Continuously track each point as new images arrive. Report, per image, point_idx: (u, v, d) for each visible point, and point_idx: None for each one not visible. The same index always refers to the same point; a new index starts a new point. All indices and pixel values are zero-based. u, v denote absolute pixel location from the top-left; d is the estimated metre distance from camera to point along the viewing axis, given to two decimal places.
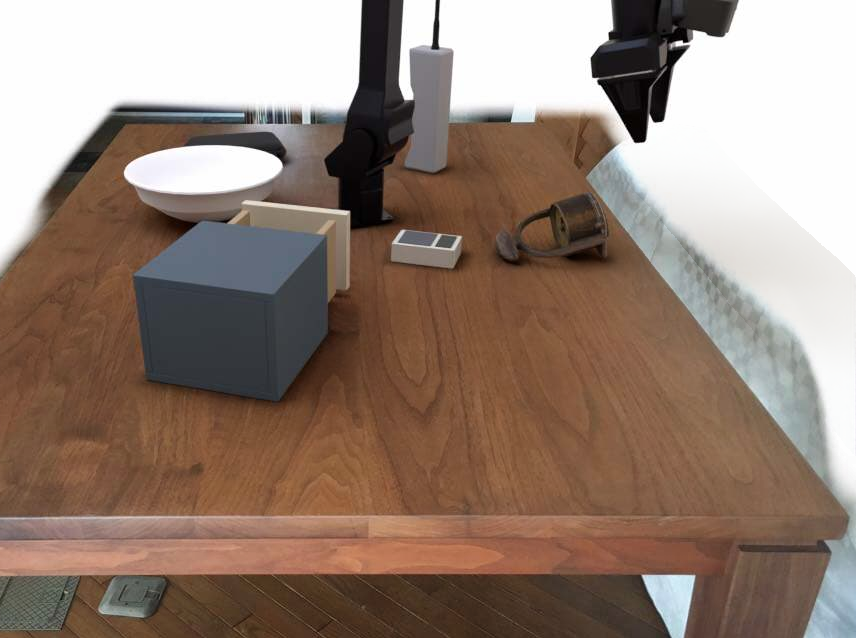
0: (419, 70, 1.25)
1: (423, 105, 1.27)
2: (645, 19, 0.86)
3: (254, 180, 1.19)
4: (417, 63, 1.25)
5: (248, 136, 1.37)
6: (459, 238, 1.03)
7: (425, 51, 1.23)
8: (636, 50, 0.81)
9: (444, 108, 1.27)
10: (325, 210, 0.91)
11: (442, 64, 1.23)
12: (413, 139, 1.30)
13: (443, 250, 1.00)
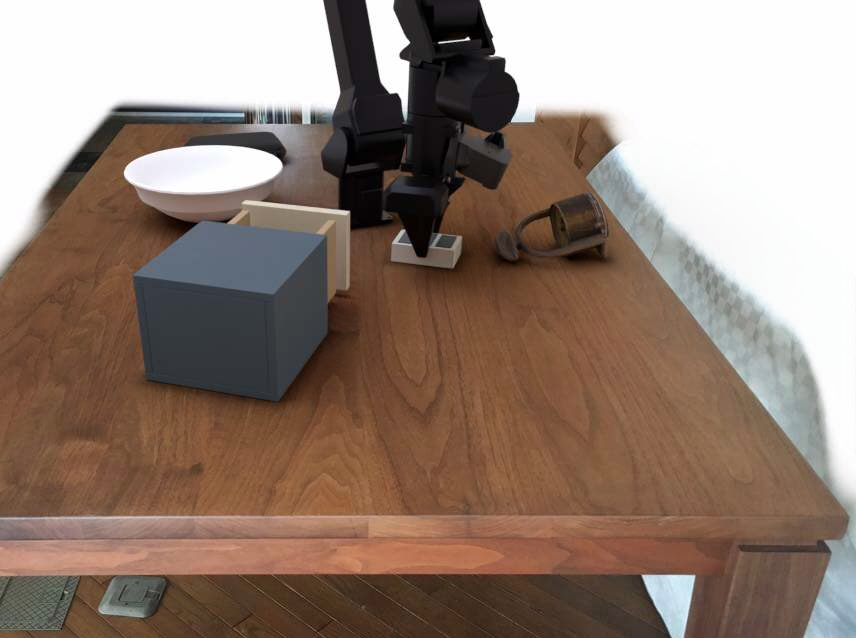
0: None
1: None
2: (433, 160, 0.95)
3: (254, 180, 1.19)
4: None
5: (248, 136, 1.37)
6: (459, 238, 1.03)
7: None
8: (422, 197, 0.91)
9: None
10: (325, 210, 0.91)
11: None
12: None
13: (443, 250, 1.00)
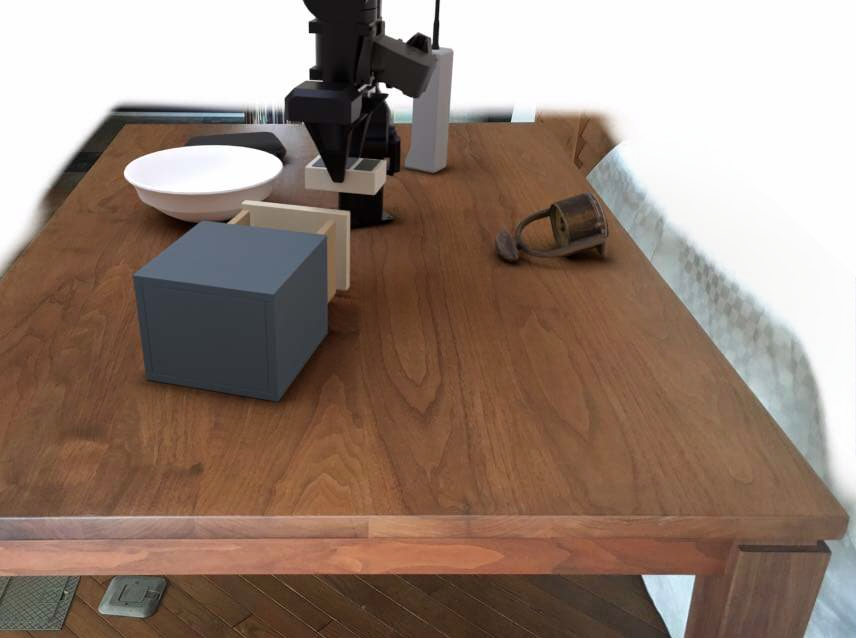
0: None
1: (423, 105, 1.27)
2: (345, 64, 0.82)
3: (254, 180, 1.19)
4: None
5: (248, 136, 1.37)
6: (383, 162, 0.90)
7: None
8: (329, 101, 0.78)
9: (444, 108, 1.27)
10: (325, 210, 0.91)
11: (442, 64, 1.23)
12: (413, 139, 1.30)
13: (363, 173, 0.88)
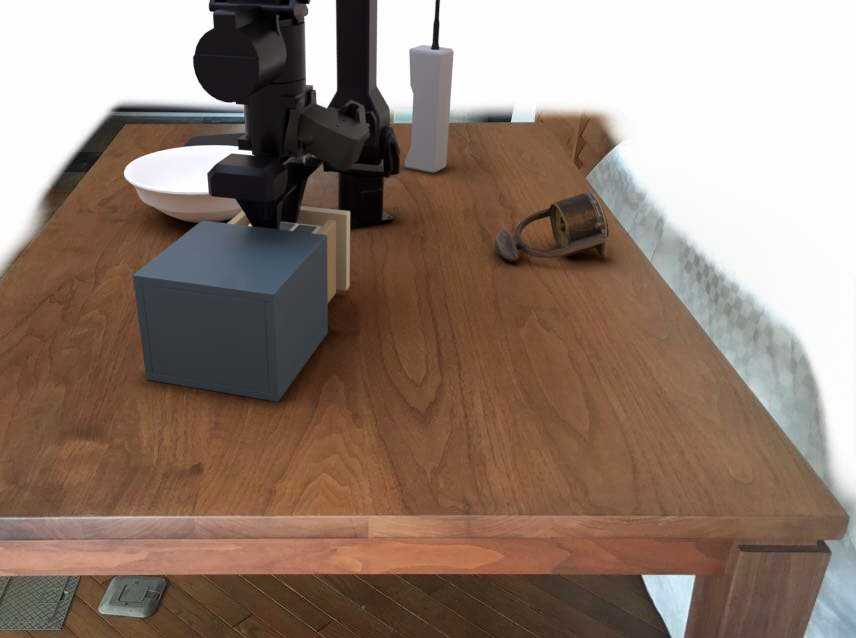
0: (419, 70, 1.25)
1: (423, 105, 1.27)
2: (273, 135, 0.81)
3: None
4: (417, 63, 1.25)
5: None
6: (318, 228, 0.89)
7: (425, 51, 1.23)
8: (250, 179, 0.76)
9: (444, 108, 1.27)
10: (325, 210, 0.91)
11: (442, 64, 1.23)
12: (413, 139, 1.30)
13: None
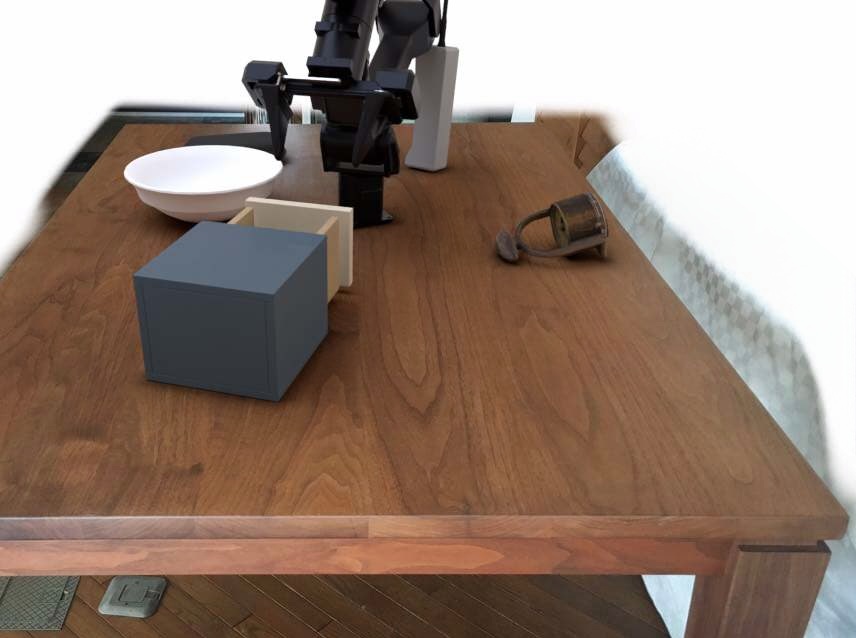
0: (424, 66, 1.26)
1: (427, 101, 1.27)
2: (363, 72, 0.97)
3: (254, 180, 1.19)
4: (422, 60, 1.26)
5: (248, 136, 1.37)
6: None
7: (431, 47, 1.24)
8: (420, 95, 0.95)
9: (447, 106, 1.28)
10: (328, 207, 0.91)
11: (448, 61, 1.24)
12: (415, 136, 1.30)
13: None
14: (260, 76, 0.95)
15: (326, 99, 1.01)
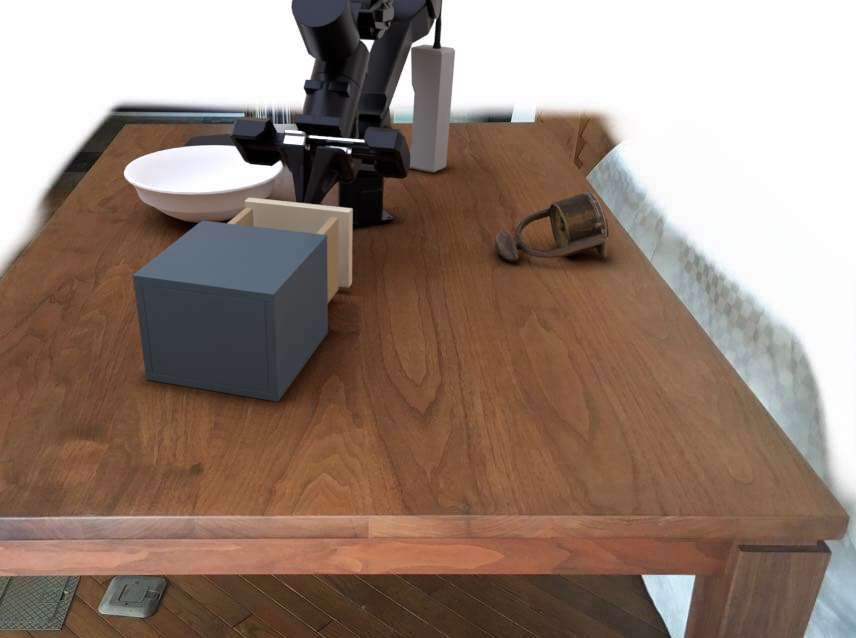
0: (420, 69, 1.25)
1: (424, 104, 1.27)
2: (352, 131, 0.96)
3: (254, 180, 1.19)
4: (418, 62, 1.25)
5: None
6: None
7: (427, 50, 1.24)
8: (408, 154, 0.95)
9: (444, 108, 1.27)
10: (328, 208, 0.91)
11: (444, 63, 1.24)
12: (414, 138, 1.30)
13: None
14: (248, 133, 0.95)
15: (315, 156, 1.01)
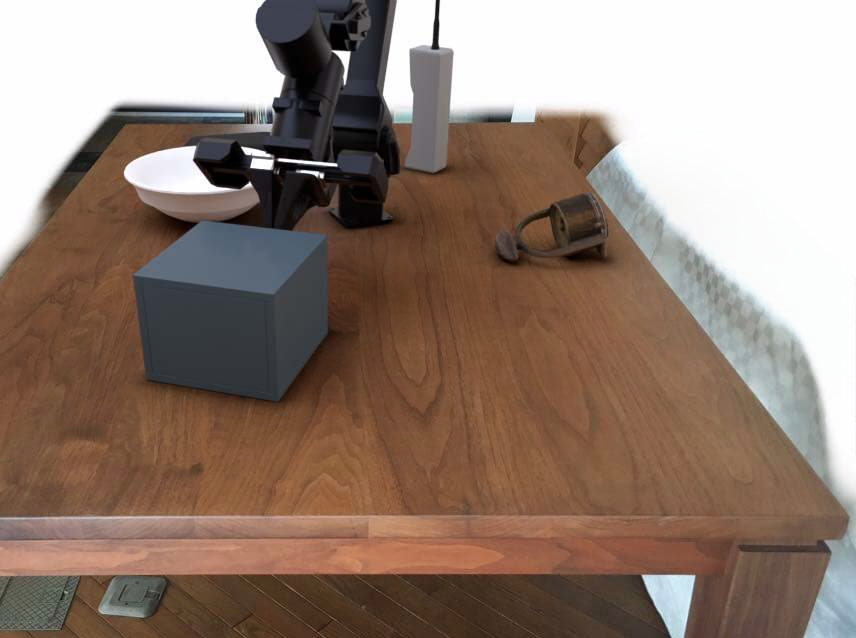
0: (419, 70, 1.25)
1: (423, 105, 1.27)
2: (325, 152, 0.89)
3: None
4: (417, 63, 1.25)
5: (248, 136, 1.37)
6: None
7: (425, 51, 1.23)
8: (386, 178, 0.87)
9: (444, 108, 1.27)
10: None
11: (442, 64, 1.23)
12: (413, 139, 1.30)
13: None
14: (212, 156, 0.87)
15: None
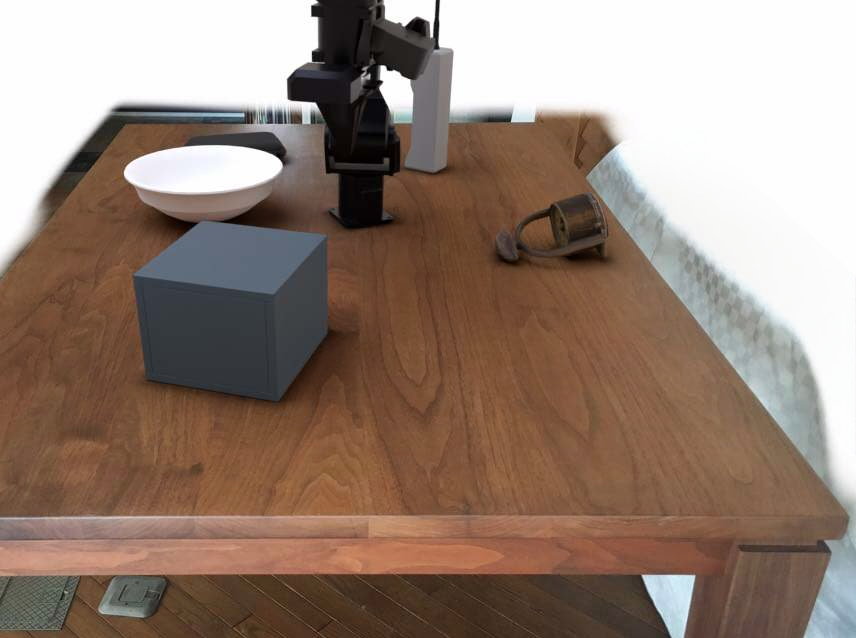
0: None
1: (423, 105, 1.27)
2: (346, 46, 0.86)
3: (254, 180, 1.19)
4: None
5: (248, 136, 1.37)
6: None
7: None
8: (329, 82, 0.81)
9: (444, 108, 1.27)
10: None
11: (442, 64, 1.23)
12: (413, 139, 1.30)
13: None
14: None
15: None
